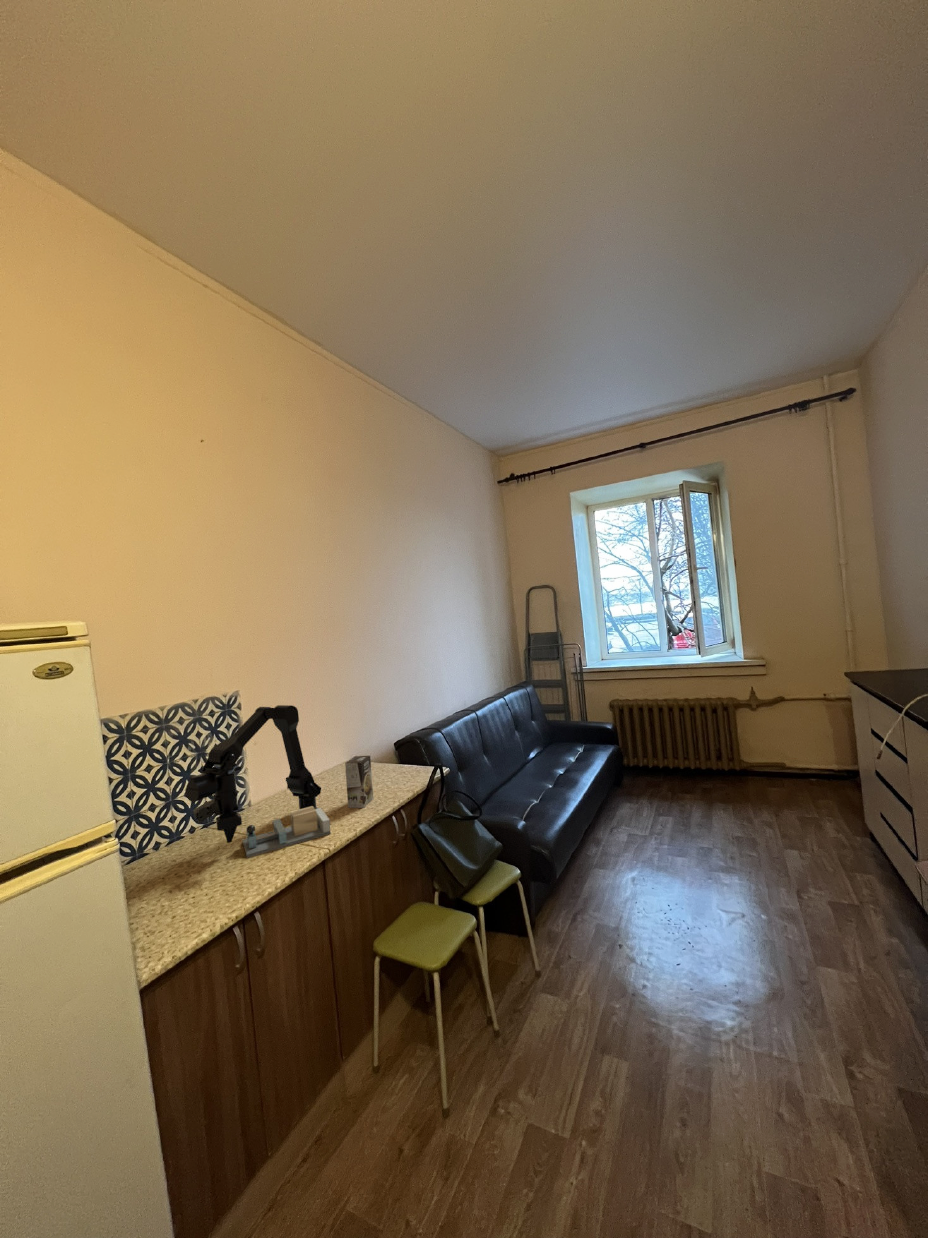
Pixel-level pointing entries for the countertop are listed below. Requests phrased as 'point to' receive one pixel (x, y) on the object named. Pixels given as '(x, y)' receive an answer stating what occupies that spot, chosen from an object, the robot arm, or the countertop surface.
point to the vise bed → (290, 837)
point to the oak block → (303, 820)
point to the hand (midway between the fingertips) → (229, 842)
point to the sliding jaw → (278, 833)
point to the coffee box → (359, 781)
